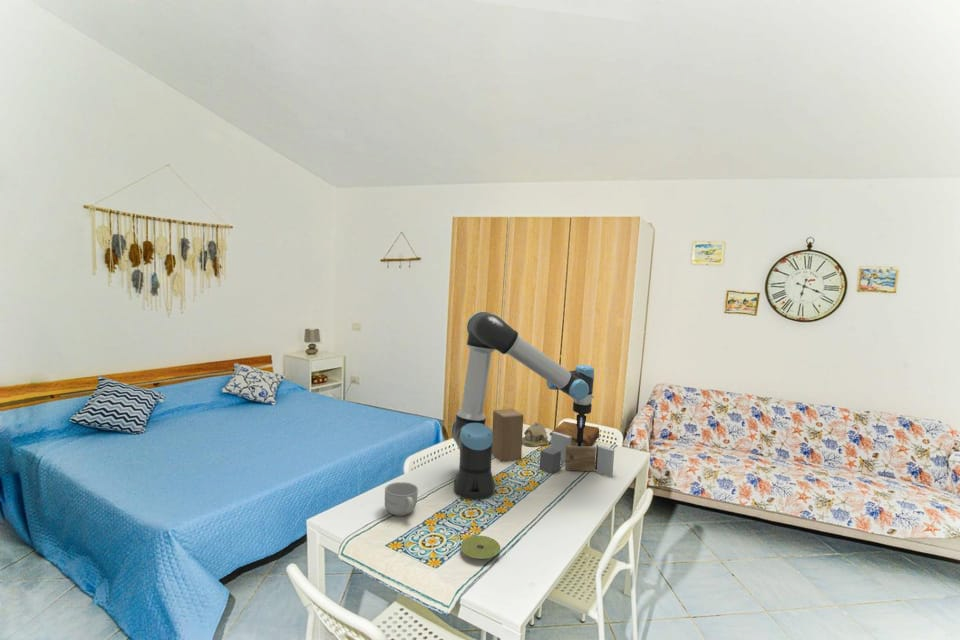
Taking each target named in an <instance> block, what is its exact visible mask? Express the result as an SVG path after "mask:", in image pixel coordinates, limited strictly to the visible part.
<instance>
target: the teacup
mask: <svg viewBox="0 0 960 640" xmlns="http://www.w3.org/2000/svg"><path fill="white" fill-rule="evenodd" d="M418 493H419V487H418V486H417V485H416V484H413V483H412V482H406V481H399V482H398V481H395V482H392V483H389V484H387V485H386V486H385V487H384V507H385V509H386V510H387V511H388V512H389V513H390V514H392V515H393V516H399V517H401V516H407V515H408V514H410V513H412V512H413V511H414V510H415V508H416V506H417V502H418Z"/></svg>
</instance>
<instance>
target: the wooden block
mask: <svg viewBox="0 0 960 640" xmlns="http://www.w3.org/2000/svg"><path fill="white" fill-rule="evenodd" d="M491 430H492V436H493V442H492V456H493V457H495V458H496V459H497V460H498V459H499V462H502V463H503V461H504V462H509V460H511V461H516V460H517V461H518V460H521V459H522V452H523V451H522V450H523V449H522V448H523V444H522V438H523V432H524V414H523V413H521V412H519V411H518V410H516V409H514V408H504V409H494V410H493V412H492V429H491Z"/></svg>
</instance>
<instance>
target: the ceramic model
mask: <svg viewBox="0 0 960 640" xmlns="http://www.w3.org/2000/svg"><path fill="white" fill-rule="evenodd" d="M523 432H524V437H523V436H522V446H526V447H539V446H546V445H550V444H549V443H550V441H549V440H548V438H549V437H548V435H547V433H548V432H547V430H546V429H545V427H544V426H543V425H542V424H541V423H540V422H534V424H530V426H528V427H527V429H526V430H525V431H523Z"/></svg>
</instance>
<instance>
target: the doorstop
mask: <svg viewBox="0 0 960 640" xmlns="http://www.w3.org/2000/svg"><path fill="white" fill-rule="evenodd" d="M539 454H540V456H539V457H540V458H539V470H541V471H543V472H546V473H549V474H555V473H556V472H558V471H561V460H560V459H561V451H559V450H556V449H553V448H551V446H548V447H546V448H543V449H541V450H540V453H539Z"/></svg>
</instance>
